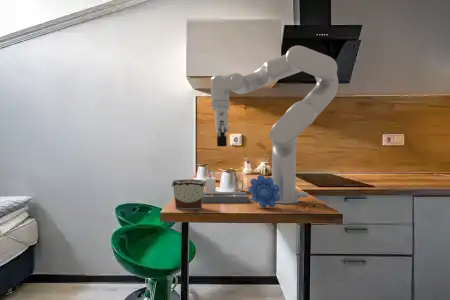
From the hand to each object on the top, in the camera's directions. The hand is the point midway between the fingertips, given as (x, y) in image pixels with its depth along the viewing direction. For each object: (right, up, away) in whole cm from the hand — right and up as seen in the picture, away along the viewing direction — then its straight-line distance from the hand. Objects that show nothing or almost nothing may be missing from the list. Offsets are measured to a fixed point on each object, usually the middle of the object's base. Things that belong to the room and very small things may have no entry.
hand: (221, 146), depth 149 cm
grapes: (+16, -23, -20) cm, 34 cm away
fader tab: (-5, -20, -4) cm, 21 cm away
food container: (-11, -23, -19) cm, 32 cm away
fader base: (+1, -22, -4) cm, 22 cm away
